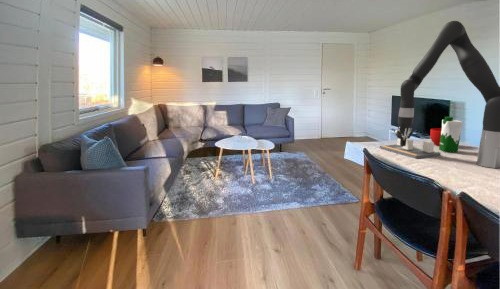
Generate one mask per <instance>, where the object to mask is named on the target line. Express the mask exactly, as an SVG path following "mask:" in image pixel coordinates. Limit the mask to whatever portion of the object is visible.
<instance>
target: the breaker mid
mask: <svg viewBox="0 0 500 289" xmlns="http://www.w3.org/2000/svg"><path fill="white" fill-rule="evenodd" d="M413 146H414V139H410V138H408V139H407V140H406V145H405V146H403V147H402V148H403V149H406V150H412V149H413Z"/></svg>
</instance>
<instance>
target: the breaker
mask: <svg viewBox="0 0 500 289" xmlns="http://www.w3.org/2000/svg"><path fill="white" fill-rule="evenodd" d="M422 144H423V145H422V149H423V150H422V151H424V152H428V153H431V152H434V146H435V145H434V142H432V141H431V140H430V141H429V140H425V141H423V142H422Z"/></svg>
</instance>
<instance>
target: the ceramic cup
mask: <svg viewBox="0 0 500 289" xmlns="http://www.w3.org/2000/svg"><path fill="white" fill-rule="evenodd" d="M441 130H442V127H439V128H438V127H434V128H430V136H429V137H430V141H431V142H434V146H436V147H439V145H440V138H441Z"/></svg>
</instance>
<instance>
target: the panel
mask: <svg viewBox="0 0 500 289" xmlns="http://www.w3.org/2000/svg"><path fill="white" fill-rule="evenodd" d="M396 144H397V143H395V144H386V145H379V149H380V148H382V149H381V150H384V151H387V152H390V153H391V152H392V153H395V154H399V155H401V156H405V157H409V158H412V159H416V160H417V159H423V158H432V157H440V156H441V154H442V153H441V152H439V151H434V150H433V151H434V152H431V153H428V152H424V151H422V150H423V147H419V146H414V145H413V149H412V150H406V149H403V148H402V147H403V146H400V145H396Z"/></svg>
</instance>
